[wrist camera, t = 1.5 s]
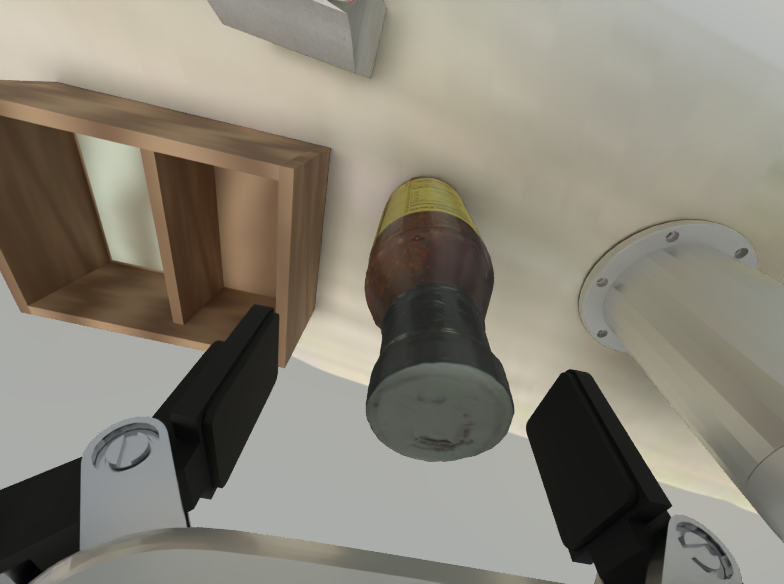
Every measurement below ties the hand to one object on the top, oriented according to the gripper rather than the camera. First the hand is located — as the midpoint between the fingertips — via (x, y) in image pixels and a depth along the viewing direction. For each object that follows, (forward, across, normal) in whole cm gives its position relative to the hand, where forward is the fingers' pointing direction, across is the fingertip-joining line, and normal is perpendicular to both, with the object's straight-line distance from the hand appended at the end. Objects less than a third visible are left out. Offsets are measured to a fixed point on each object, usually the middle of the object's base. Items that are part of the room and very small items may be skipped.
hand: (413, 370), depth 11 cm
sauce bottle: (+18, -1, 0) cm, 18 cm away
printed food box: (+18, +8, -10) cm, 22 cm away
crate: (+18, +17, +5) cm, 25 cm away
